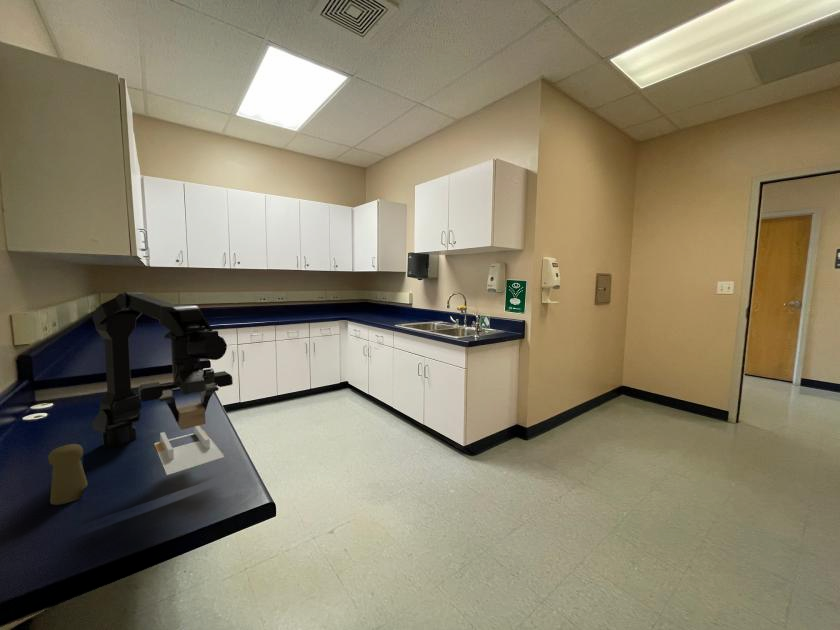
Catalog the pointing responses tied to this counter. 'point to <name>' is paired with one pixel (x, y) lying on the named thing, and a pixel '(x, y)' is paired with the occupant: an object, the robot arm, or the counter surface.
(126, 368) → the robot arm
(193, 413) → the walnut block
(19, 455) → the counter surface
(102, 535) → the counter surface
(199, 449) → the white mounting bracket
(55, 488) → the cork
